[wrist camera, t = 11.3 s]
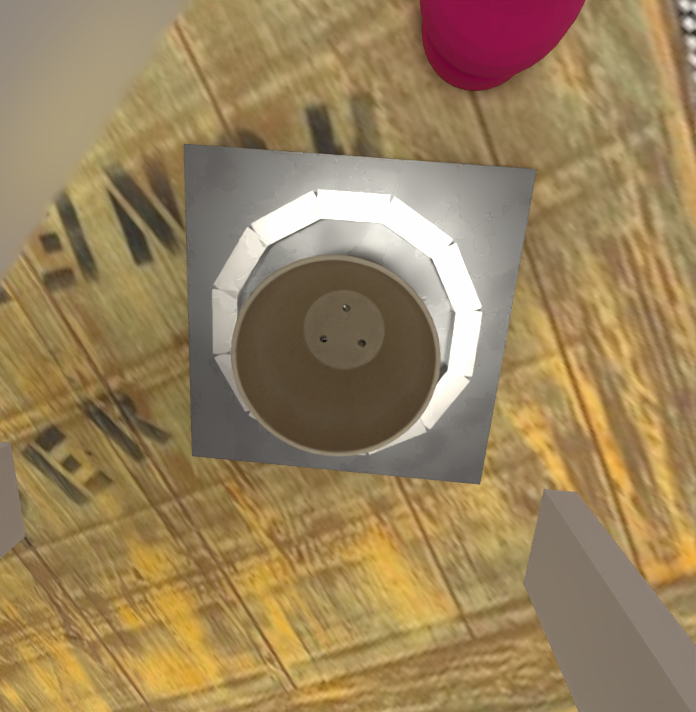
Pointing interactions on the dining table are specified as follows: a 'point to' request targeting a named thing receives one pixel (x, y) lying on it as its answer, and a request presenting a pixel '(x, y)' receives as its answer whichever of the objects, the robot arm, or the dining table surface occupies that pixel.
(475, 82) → the pepper mill
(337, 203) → the ring plate
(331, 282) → the flower pot
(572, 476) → the dining table surface
